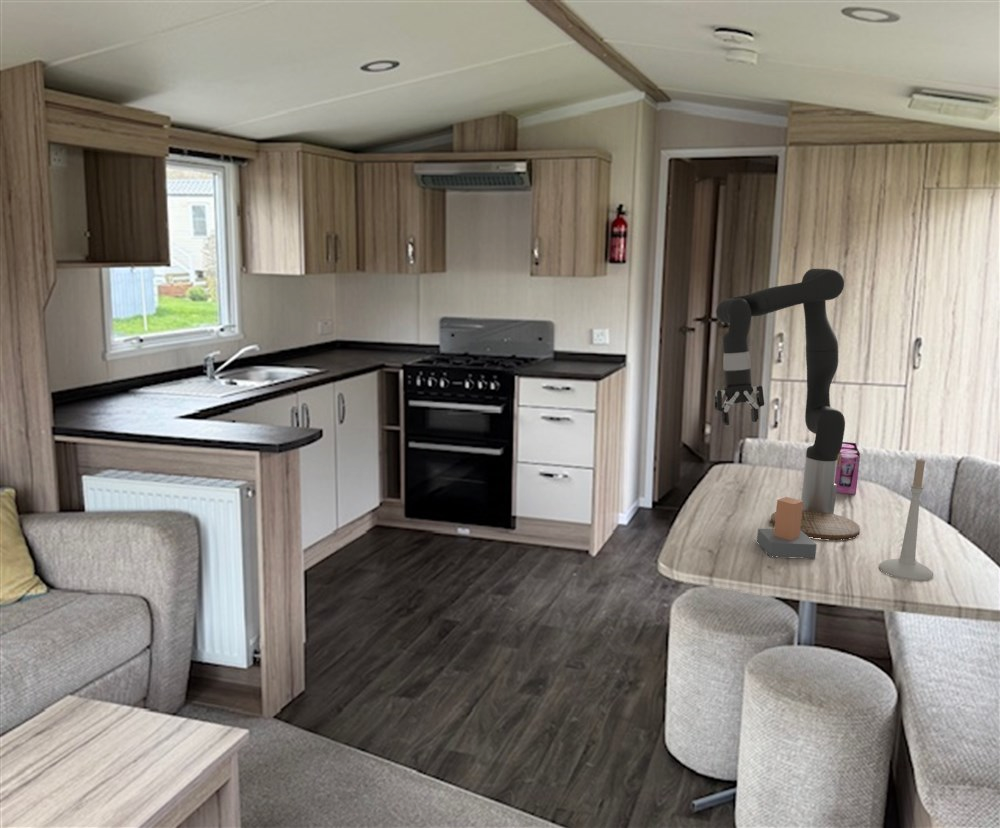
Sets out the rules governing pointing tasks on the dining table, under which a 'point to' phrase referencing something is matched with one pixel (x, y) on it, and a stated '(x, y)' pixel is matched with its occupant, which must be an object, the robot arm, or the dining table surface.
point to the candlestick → (910, 538)
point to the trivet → (826, 525)
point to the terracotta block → (788, 518)
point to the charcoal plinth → (786, 545)
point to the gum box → (847, 468)
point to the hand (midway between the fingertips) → (740, 423)
